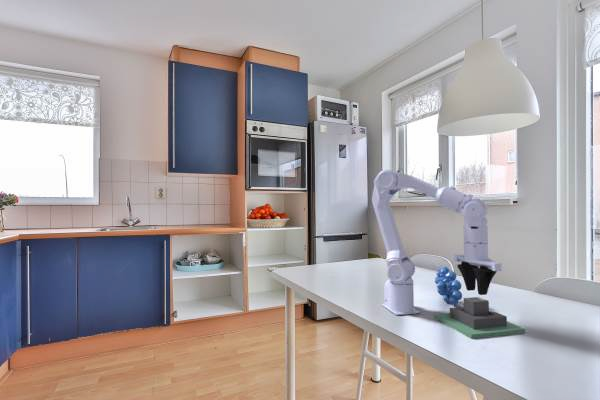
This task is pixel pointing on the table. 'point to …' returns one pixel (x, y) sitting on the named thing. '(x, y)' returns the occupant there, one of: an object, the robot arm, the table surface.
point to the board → (479, 331)
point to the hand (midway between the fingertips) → (476, 292)
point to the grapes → (448, 285)
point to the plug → (476, 306)
